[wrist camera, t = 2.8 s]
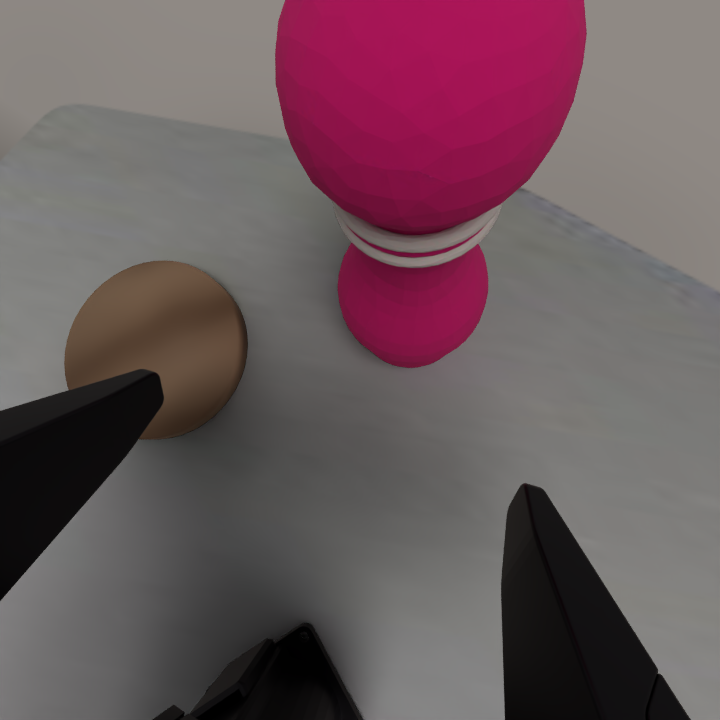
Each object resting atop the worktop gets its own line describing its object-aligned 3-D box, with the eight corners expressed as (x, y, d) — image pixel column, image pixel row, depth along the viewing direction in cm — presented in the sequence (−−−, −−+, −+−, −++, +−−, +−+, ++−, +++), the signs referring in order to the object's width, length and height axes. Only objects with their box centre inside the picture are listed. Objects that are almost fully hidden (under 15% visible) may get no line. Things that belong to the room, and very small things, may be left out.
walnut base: (279, 374, 24) (271, 370, 22) (125, 475, 23) (107, 477, 22) (198, 240, 26) (186, 228, 25) (59, 330, 26) (39, 323, 25)
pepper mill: (495, 305, 23) (980, -410, 4) (422, 401, 22) (539, 144, 3) (398, 240, 25) (380, -509, 5) (326, 329, 24) (-3, -153, 5)
